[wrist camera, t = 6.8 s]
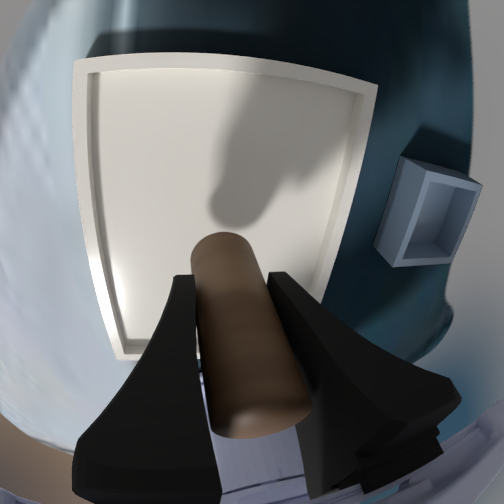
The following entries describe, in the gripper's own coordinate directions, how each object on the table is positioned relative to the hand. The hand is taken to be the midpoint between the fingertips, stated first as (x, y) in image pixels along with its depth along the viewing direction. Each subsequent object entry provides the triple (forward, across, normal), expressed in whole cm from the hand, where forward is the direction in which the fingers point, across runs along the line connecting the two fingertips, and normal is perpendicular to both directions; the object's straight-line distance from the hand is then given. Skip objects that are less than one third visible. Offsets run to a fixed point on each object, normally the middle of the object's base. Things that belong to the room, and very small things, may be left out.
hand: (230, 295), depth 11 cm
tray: (+4, 0, 0) cm, 4 cm away
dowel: (+2, 0, 0) cm, 2 cm away
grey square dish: (+4, -12, -2) cm, 13 cm away
